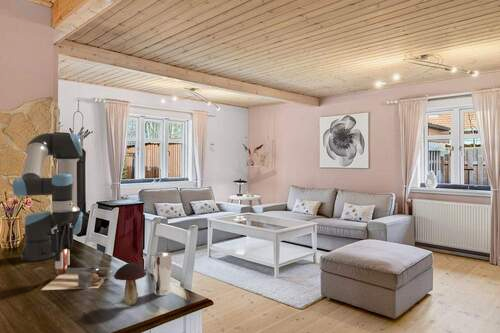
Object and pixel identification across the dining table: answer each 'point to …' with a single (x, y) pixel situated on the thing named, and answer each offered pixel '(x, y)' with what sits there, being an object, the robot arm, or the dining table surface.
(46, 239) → the robot arm
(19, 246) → the dining table surface
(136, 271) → the decorative mushroom
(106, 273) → the lever
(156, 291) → the beer glass
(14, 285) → the dining table surface
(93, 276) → the walnut
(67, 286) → the tapered cream board
